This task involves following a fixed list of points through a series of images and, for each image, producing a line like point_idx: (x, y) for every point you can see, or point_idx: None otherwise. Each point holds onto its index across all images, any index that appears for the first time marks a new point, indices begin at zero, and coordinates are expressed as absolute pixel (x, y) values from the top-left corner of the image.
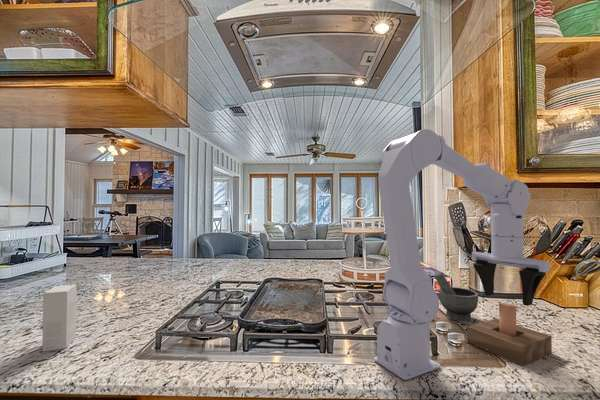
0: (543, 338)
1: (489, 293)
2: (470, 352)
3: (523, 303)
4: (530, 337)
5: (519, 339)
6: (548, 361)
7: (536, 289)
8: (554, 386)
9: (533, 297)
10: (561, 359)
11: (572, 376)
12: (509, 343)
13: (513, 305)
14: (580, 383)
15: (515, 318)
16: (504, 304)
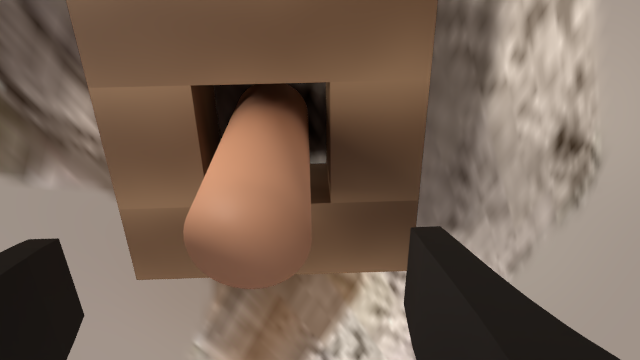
0: (425, 67)
1: (69, 312)
2: (235, 289)
3: (409, 315)
4: (378, 124)
5: (361, 204)
6: (437, 88)
7: (555, 321)
8: (508, 262)
9: (477, 262)
10: (467, 3)
11: (535, 141)
12: (353, 269)
13: (270, 195)
14: (563, 171)
15: (309, 187)
16: (220, 237)
